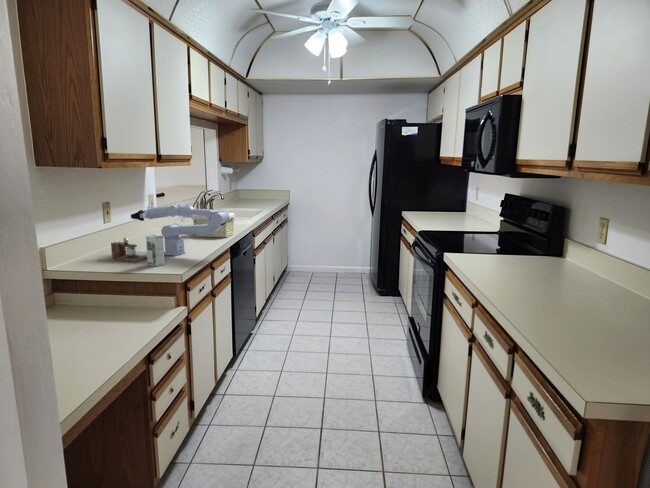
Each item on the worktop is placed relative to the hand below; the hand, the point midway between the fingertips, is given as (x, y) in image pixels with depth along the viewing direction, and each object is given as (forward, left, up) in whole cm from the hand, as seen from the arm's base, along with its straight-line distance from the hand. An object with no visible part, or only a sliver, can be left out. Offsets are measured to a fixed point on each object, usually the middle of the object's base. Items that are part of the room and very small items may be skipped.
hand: (135, 215), depth 222 cm
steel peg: (-11, +15, -20) cm, 27 cm away
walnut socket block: (-9, +15, -20) cm, 26 cm away
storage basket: (-8, -58, -20) cm, 62 cm away
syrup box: (-29, +18, -20) cm, 39 cm away
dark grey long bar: (-6, +15, -13) cm, 21 cm away
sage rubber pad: (-6, +5, -20) cm, 21 cm away
